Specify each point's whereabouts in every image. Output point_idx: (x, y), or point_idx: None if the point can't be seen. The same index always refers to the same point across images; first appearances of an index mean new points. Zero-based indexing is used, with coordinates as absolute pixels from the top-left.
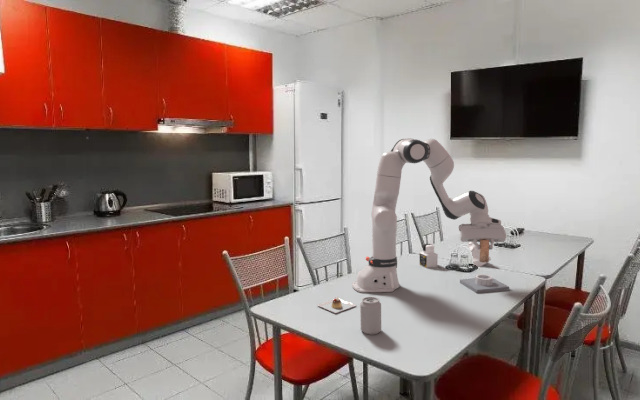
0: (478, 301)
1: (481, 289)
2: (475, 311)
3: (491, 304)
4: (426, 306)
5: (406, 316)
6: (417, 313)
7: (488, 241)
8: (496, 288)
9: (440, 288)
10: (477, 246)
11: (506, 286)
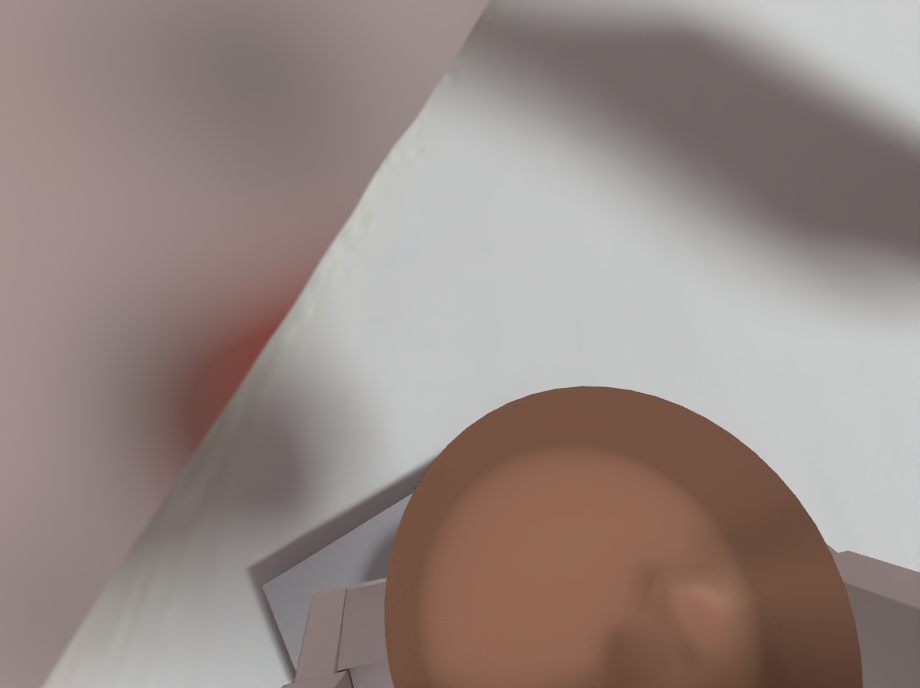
0: (522, 267)
1: None
2: (526, 142)
3: (442, 244)
4: (785, 132)
5: (813, 30)
6: (784, 61)
7: (429, 483)
8: (388, 509)
9: (862, 447)
10: None
11: (287, 585)
